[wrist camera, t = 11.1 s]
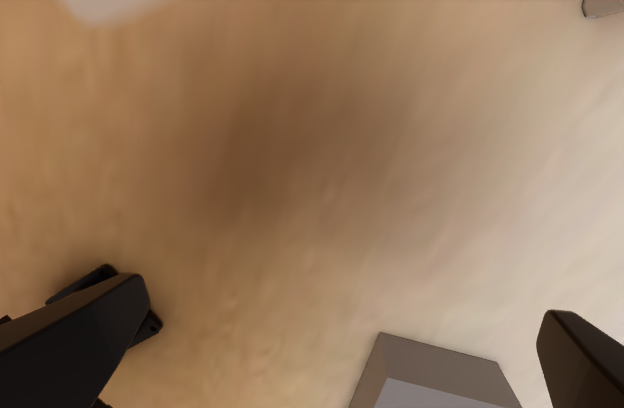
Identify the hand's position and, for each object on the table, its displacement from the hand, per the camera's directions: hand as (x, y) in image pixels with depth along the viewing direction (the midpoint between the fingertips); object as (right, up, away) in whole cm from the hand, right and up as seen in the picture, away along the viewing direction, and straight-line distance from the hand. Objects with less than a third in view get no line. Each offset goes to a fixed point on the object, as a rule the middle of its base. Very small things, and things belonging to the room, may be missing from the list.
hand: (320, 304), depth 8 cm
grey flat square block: (+8, -12, +19) cm, 24 cm away
